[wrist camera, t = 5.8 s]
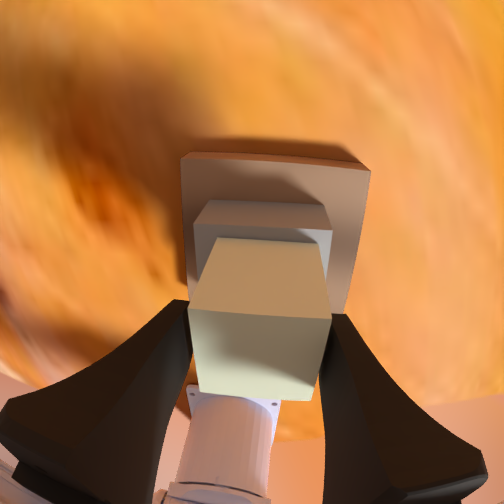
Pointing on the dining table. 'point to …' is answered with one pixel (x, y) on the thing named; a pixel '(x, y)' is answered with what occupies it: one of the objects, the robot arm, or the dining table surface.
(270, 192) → the walnut slab
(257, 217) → the slate cube
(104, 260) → the dining table surface
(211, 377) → the sage block
